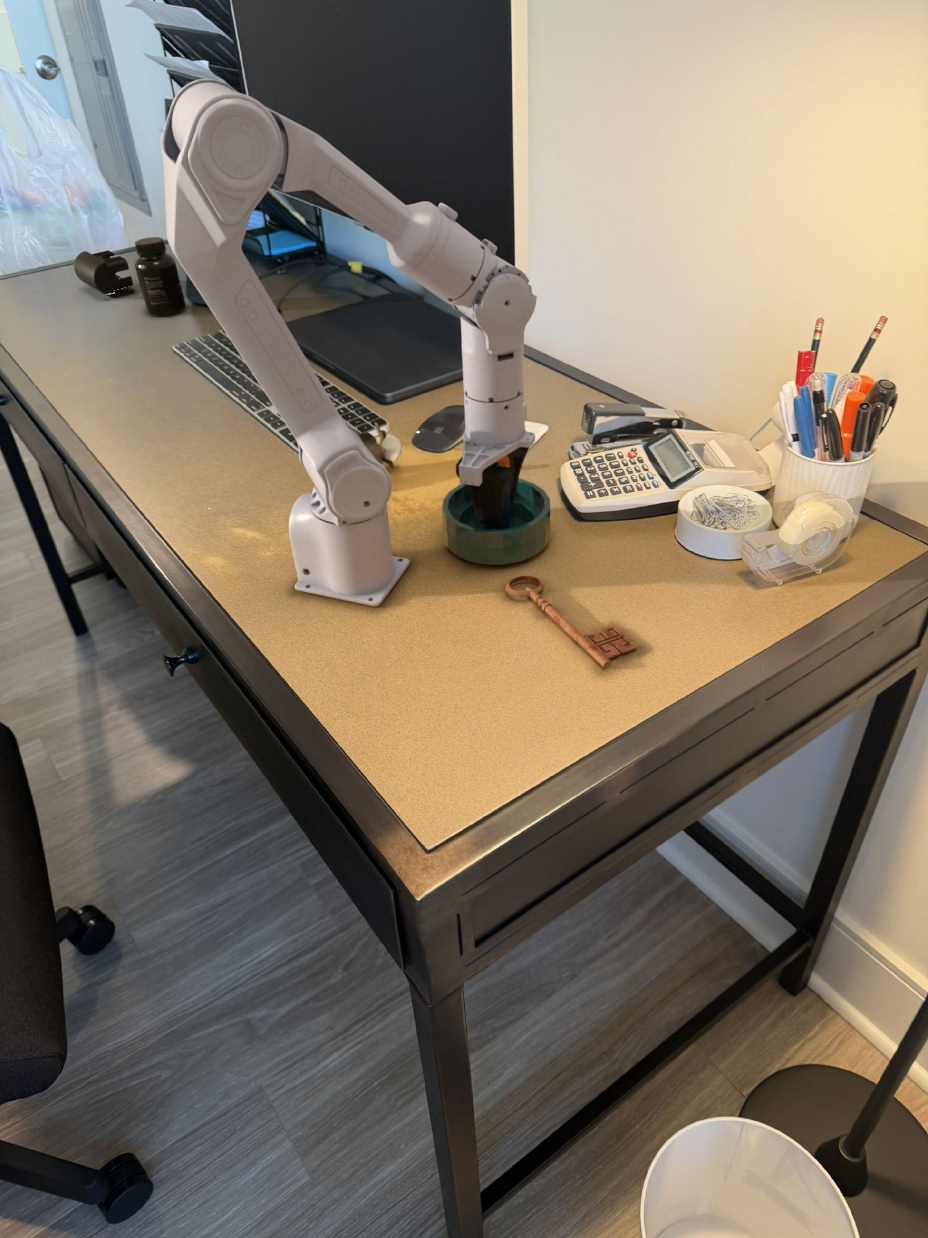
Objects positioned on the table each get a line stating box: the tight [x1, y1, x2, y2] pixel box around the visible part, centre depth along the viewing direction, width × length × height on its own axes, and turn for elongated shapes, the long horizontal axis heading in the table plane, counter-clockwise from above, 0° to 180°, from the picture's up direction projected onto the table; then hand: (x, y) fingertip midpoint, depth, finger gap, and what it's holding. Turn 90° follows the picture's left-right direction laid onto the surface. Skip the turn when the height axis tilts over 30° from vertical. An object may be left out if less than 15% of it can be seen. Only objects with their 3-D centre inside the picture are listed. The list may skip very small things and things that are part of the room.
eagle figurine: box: [356, 422, 403, 469], centre depth 102 cm, size 8×7×9 cm
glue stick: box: [485, 455, 510, 530], centre depth 89 cm, size 3×3×9 cm
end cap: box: [73, 250, 135, 299], centre depth 162 cm, size 10×7×7 cm
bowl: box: [441, 478, 551, 566], centre depth 91 cm, size 11×11×4 cm
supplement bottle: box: [134, 236, 187, 317], centre depth 150 cm, size 7×7×12 cm
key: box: [505, 575, 638, 669], centre depth 81 cm, size 6×1×15 cm
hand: (496, 512), depth 90 cm, fingers open, 4 cm apart
